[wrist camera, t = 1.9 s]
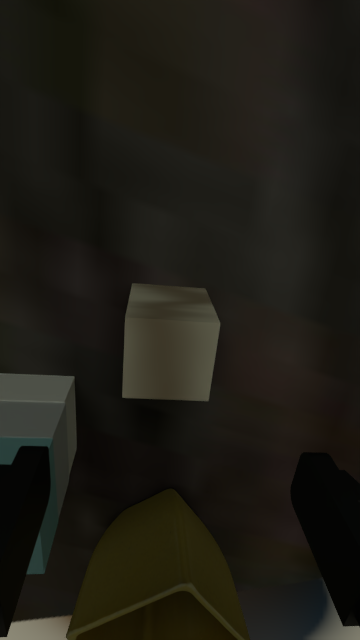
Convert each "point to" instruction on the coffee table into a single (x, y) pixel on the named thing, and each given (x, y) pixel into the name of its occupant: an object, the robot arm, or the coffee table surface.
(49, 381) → the slab bottom
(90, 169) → the coffee table surface
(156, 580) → the flower pot
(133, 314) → the birch block
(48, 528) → the slab top
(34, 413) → the slab middle
